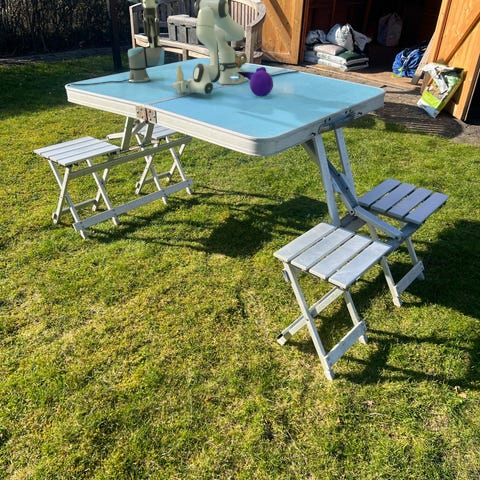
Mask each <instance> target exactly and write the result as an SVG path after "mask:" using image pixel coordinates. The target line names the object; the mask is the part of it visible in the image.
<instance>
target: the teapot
mask: <svg viewBox="0 0 480 480" xmlns="http://www.w3.org/2000/svg"><path fill="white" fill-rule="evenodd" d="M242 58H243V59H242ZM247 61H248V58H247V54H246V52H241V53H240V54H238V53H237V52H236V51H235V62H239V63H240V64H239V65H237V67H238V68H239V69H240V70H241V68H242V67H243V65H246V63H247Z"/></svg>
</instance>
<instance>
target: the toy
mask: <svg viewBox="0 0 480 480" xmlns="http://www.w3.org/2000/svg"><path fill="white" fill-rule="evenodd" d="M237 73H239V74H240V75H242V76H244V77H246V78H245V79H247V80H249V89H250V91H251V93H253V95H255V96H256V97H267V96H268V95H269V94H270V93H271V92H272V90H273V89H274V78H273V76H270V75H271V74H270V73H269V72H267V69H266V67H264V66H260V67H258V68H256V69H255V72H252V71H242V72H237Z"/></svg>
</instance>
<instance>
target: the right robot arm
mask: <svg viewBox="0 0 480 480" xmlns="http://www.w3.org/2000/svg"><path fill="white" fill-rule="evenodd" d="M229 6H230V5H229V2H228V1H227V0H196V1H195V2H194V6H193V11H194V14H195V16H196V18H197V19H196V27H195V28H196V29H195V31H196V34H195V35H196V38H197V39H198V41H199V42H200V43H201V44H203V46H205V48H206V49H207V50H208V54H209V64H205V63H197V64H196V65H195V66H194V68H193V72H192V76H193V77H189V78H187V79H184V81H179V82H176V81H174V82H172V89H173V90H176V91H177V90H179V91H182V92H185V93H193V94H194V93H195V94H199V95H209V94H211V93H212V91H213V90H214V84H215V83H217V82H218V84H220V85H240V84H243V83H246V82H248V78H246V77H244V76H242V75H240V74H239V73H237V72H243V70H241V68H240V69H239V68H238V67H237V65H239V64H240V63H239V62H235V52H236V50H235V49H234V48H233V47H232V46H230V45H229V44H228V42H239V41H242V40H243V39H244V38H245V35H246V30H245V28H244V26H243V25H242V24H240V23H238V22H236V21H235V20H234V19H233V18H232V17H231V15H230V13H229V10H230V7H229ZM299 72H300V70H293V71H285V72H280V73H275V74H270V76H271V77H276V76H280V75H286V74H293V73H299Z"/></svg>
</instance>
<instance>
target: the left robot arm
mask: <svg viewBox="0 0 480 480" xmlns="http://www.w3.org/2000/svg"><path fill="white" fill-rule="evenodd" d="M127 1H128V2H130V3H135V4H141V7H142V8H143V15H144V17H143V18H141V22H142V26H143V32H144V36H146V38H147V44H146V46H145V47H146V48H144V47H143V46H138V47H132V48H130V49H128V50H127V56H128V57H127V58H128V64H129V65H128V66H129V76H128V79H124V80H108V81H100V82H94V83H73V82H72V83H70V84H71V85H69V84H67V87H70V86H90V85H91V86H92V85H100V84H108V83H109V84H110V83H124V82H127V81H128V82H129V83H133V84H141V83H148V82H150V76H149V74H148V71H147V67H153V66H156V67H157V66H163V65H164V64H165V48H164V47H163V45H162V44H161V42H160V36H161V29H160V18H158V13H157V12H158V11H157V8H158V6H159V3H160V2H161V1H160V0H127ZM151 43H154V48H151V47H150V44H151ZM73 134H75V135H76V130H75V129H73Z"/></svg>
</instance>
